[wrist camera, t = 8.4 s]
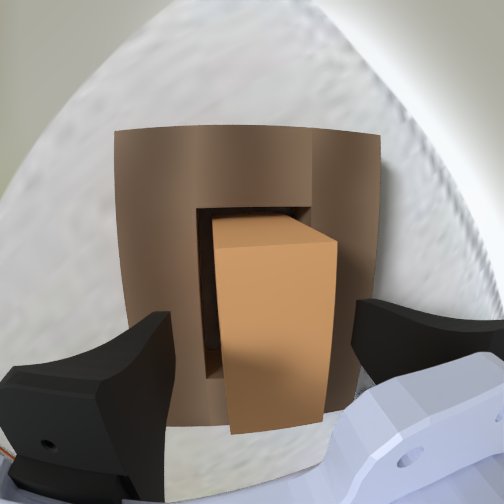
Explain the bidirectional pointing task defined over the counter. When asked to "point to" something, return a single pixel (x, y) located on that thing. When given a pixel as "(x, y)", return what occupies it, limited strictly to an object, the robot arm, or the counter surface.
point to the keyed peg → (274, 318)
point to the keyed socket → (239, 195)
